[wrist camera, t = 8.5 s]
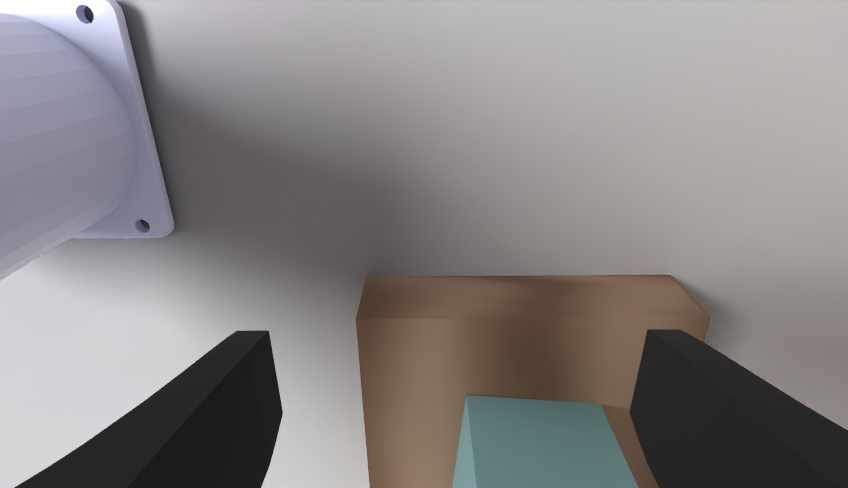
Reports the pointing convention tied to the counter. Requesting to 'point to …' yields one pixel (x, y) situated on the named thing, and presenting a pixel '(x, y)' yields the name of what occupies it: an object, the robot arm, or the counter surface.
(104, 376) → the counter surface
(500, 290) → the square wooden block
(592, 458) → the teal cube
